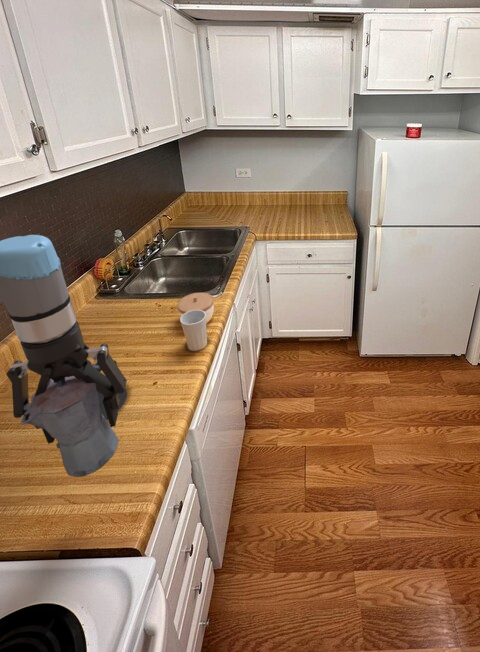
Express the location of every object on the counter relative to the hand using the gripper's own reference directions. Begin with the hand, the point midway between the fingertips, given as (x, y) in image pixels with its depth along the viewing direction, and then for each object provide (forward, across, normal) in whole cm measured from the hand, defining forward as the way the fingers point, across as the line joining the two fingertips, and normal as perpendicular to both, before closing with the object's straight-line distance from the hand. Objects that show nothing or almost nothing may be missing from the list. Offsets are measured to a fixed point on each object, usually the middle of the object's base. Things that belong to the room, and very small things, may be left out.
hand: (84, 428), depth 62 cm
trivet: (+21, +8, -27) cm, 35 cm away
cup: (+22, -18, -43) cm, 51 cm away
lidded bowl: (+22, -19, -56) cm, 63 cm away
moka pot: (+7, 0, 0) cm, 7 cm away
